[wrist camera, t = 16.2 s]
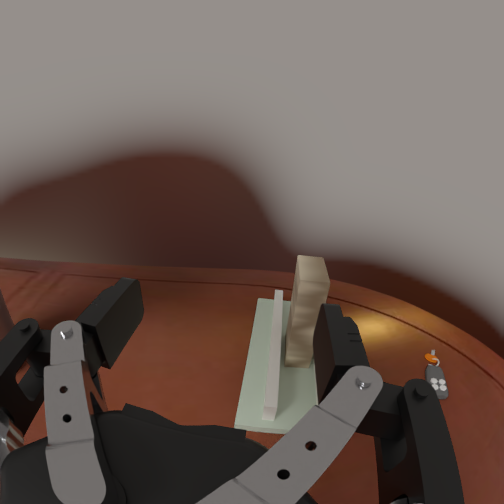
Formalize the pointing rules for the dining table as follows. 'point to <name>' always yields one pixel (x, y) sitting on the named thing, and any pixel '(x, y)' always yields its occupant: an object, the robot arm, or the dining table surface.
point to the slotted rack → (273, 375)
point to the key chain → (436, 376)
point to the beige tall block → (305, 310)
